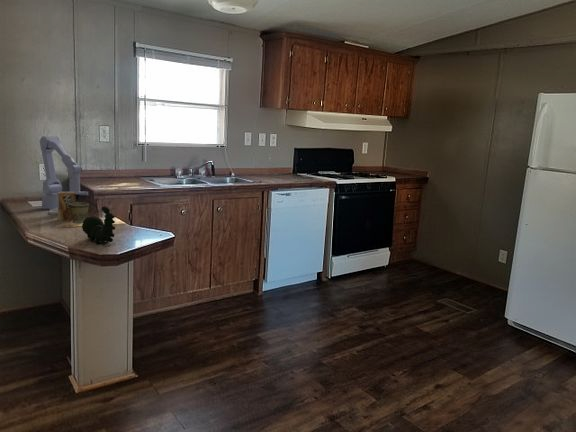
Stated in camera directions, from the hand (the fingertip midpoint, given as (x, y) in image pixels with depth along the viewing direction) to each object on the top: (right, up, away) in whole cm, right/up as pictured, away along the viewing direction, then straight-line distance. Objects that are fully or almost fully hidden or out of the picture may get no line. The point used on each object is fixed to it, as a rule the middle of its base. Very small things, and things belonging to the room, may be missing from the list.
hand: (75, 207), depth 279 cm
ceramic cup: (+13, -9, -21) cm, 27 cm away
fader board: (-3, -3, -1) cm, 5 cm away
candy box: (+4, -8, -19) cm, 21 cm away
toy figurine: (+39, -17, -61) cm, 74 cm away
